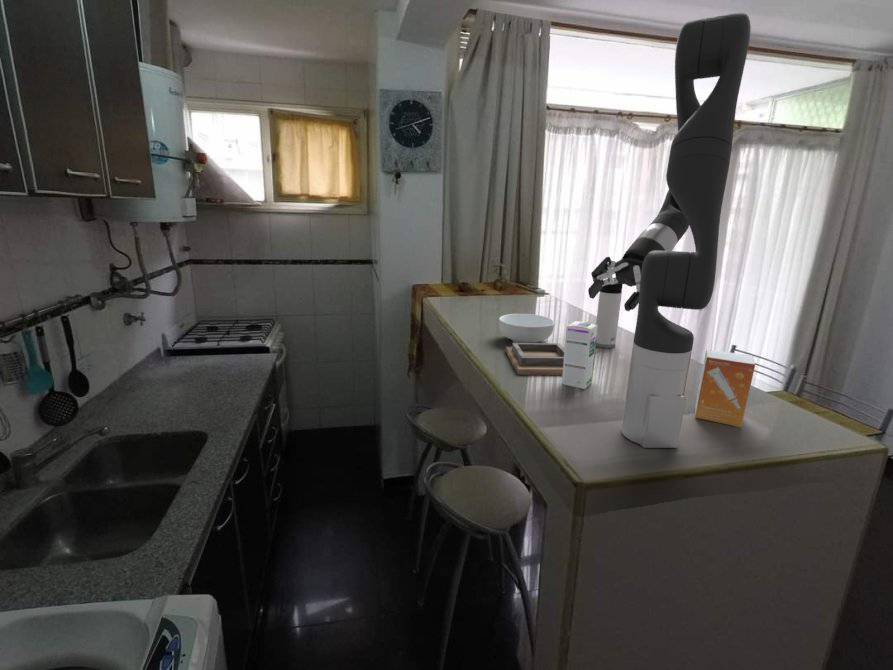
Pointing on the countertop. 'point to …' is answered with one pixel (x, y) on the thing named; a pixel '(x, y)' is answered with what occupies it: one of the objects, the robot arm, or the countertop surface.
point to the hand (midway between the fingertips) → (607, 302)
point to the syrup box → (579, 354)
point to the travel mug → (608, 315)
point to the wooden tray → (537, 358)
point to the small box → (724, 387)
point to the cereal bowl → (526, 327)
